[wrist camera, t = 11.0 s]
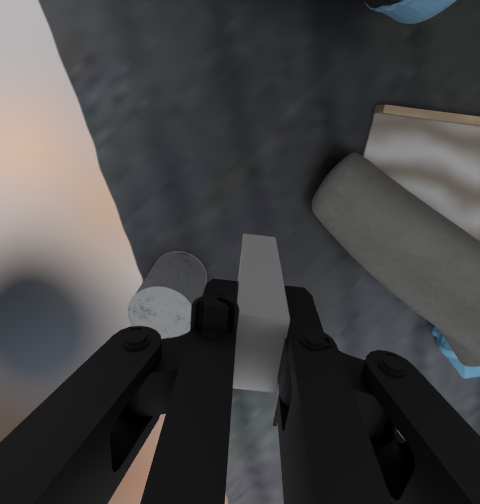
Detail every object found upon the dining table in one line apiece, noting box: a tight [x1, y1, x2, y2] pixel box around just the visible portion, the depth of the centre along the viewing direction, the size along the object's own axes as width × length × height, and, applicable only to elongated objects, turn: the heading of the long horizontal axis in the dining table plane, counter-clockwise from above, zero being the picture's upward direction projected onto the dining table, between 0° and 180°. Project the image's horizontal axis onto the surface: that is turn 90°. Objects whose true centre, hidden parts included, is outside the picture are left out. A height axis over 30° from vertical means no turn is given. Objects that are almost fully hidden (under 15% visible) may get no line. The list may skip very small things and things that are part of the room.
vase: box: [312, 153, 480, 367], centre depth 43 cm, size 12×12×30 cm
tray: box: [363, 105, 480, 241], centre depth 47 cm, size 19×32×4 cm, turn 83°
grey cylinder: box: [128, 251, 207, 339], centre depth 51 cm, size 10×10×12 cm
